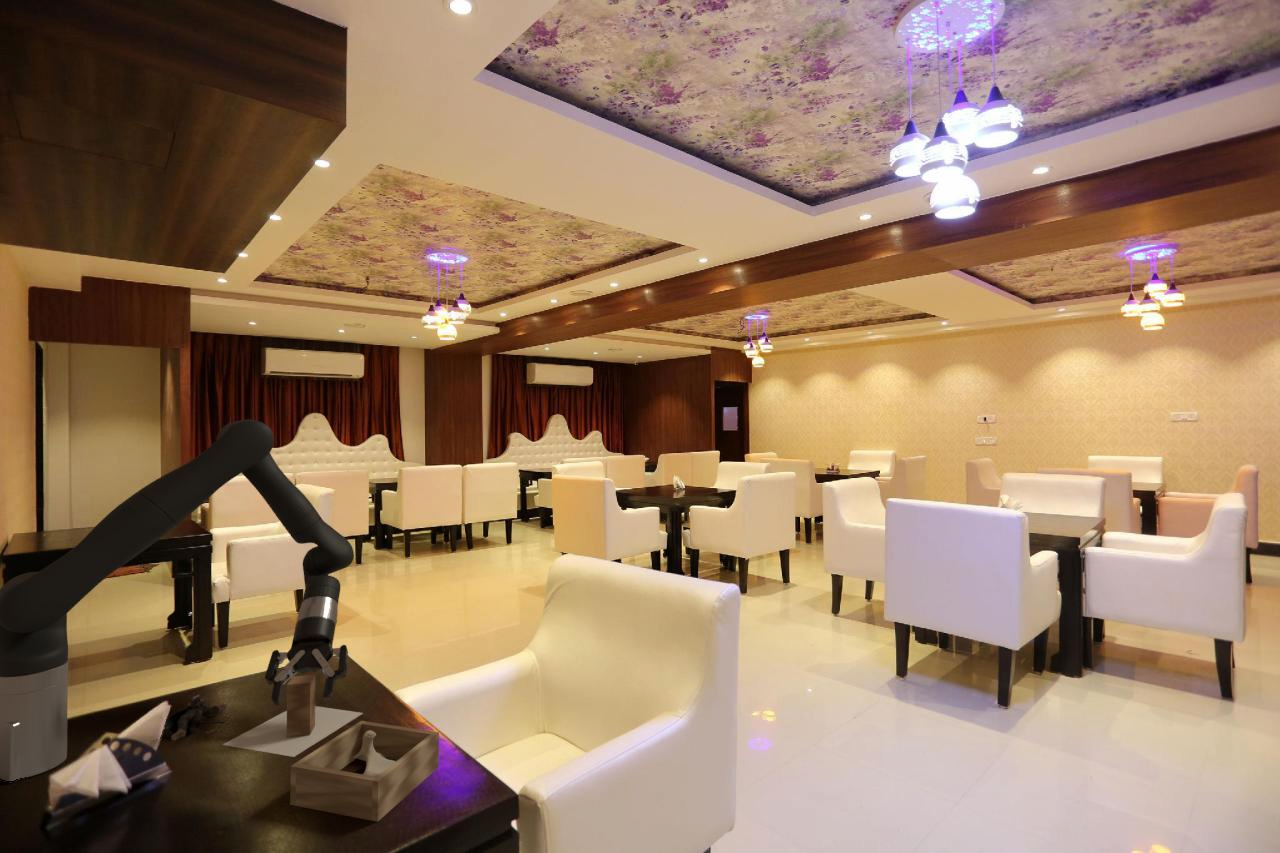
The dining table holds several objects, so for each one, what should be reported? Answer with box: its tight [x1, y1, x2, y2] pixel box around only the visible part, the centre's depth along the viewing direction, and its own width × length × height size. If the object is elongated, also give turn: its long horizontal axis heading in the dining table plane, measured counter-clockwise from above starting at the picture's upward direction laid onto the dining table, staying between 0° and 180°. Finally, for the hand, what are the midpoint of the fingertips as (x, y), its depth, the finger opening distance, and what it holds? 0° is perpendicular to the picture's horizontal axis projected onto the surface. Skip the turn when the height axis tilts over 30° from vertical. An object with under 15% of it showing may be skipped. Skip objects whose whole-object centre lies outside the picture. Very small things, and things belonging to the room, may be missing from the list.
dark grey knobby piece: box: [162, 694, 234, 741], centre depth 125 cm, size 12×10×12 cm
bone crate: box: [289, 720, 440, 822], centre depth 104 cm, size 16×16×6 cm
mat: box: [222, 705, 364, 758], centre depth 122 cm, size 18×16×1 cm
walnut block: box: [286, 674, 317, 738], centre depth 121 cm, size 4×4×10 cm
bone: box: [353, 731, 397, 777], centre depth 105 cm, size 10×6×10 cm
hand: (301, 701), depth 121 cm, fingers open, 8 cm apart
